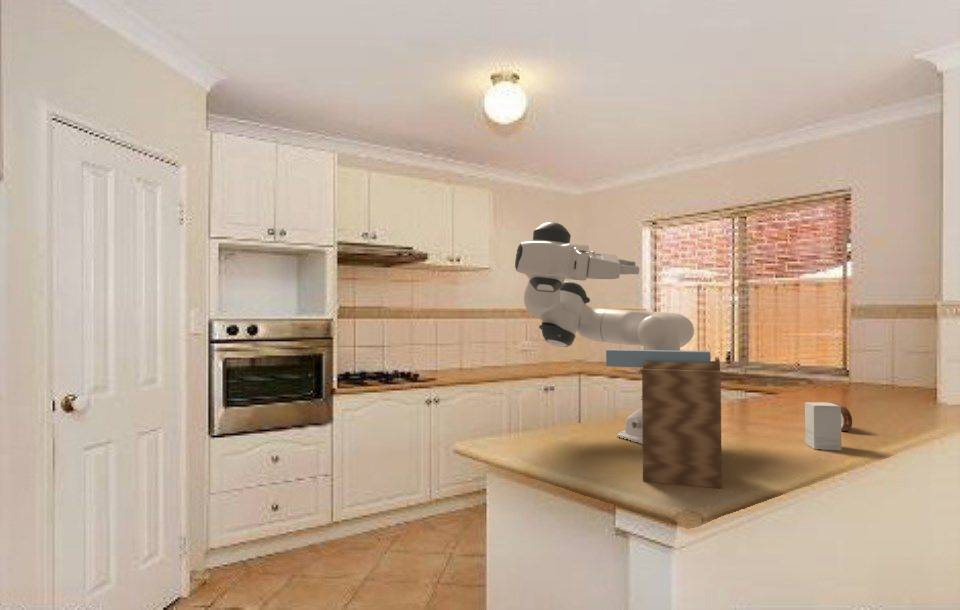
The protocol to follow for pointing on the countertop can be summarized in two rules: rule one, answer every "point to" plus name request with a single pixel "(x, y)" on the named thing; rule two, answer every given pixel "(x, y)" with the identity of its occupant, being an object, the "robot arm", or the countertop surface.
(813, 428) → the supplement box
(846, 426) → the brown curved piece
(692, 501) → the countertop surface
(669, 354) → the bar
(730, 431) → the countertop surface
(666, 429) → the stand
